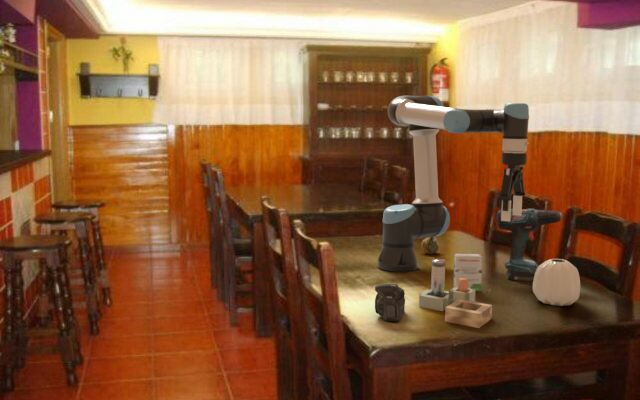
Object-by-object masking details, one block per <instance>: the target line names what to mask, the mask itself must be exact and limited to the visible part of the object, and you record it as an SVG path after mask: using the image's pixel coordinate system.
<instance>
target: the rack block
mask: <svg viewBox="0 0 640 400" xmlns="http://www.w3.org/2000/svg"><path fill="white" fill-rule="evenodd" d="M492 318H493V305H492V304H489V303H482V302H478V301H475V302H472V301H467V300H461V299H458V300H457V301H455V302H453V303H452V304H450V305H449V306H447V307H445V310H444V322H446V323H452V324H457V325H461V326H467V327H470V328H476V329H480V328H481V327H483V326H484V325H485V324H487V323H488V322H489V321H490V320H492Z"/></svg>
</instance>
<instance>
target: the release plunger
mask: <svg viewBox="0 0 640 400" xmlns="http://www.w3.org/2000/svg"><path fill="white" fill-rule="evenodd" d="M458 291H460V292H466V293H467V292H468V279H466V278H459V280H458Z"/></svg>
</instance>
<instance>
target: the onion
mask: <svg viewBox="0 0 640 400" xmlns="http://www.w3.org/2000/svg"><path fill="white" fill-rule="evenodd" d="M420 247H421V249H422V251H423V252H424V253H426V254H430V255H434V254H436V253H437V252H439V250H440V244H439V242H438V239H437V236H435V237H425V238H423V240H422V241H421V245H420Z"/></svg>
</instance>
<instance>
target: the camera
mask: <svg viewBox="0 0 640 400" xmlns="http://www.w3.org/2000/svg"><path fill="white" fill-rule="evenodd" d="M374 287H375V288H374V291H375V292H376V293H377V294H376V295H375V299H374V310H375V313H376V314H377V315H379V317H382V319H383V321H385V322H393V323H394V322H395V323H396V322H398V323H399V322H400V321H401V319H402V317H403V316H404V314H405V308H406V306H405V304H406V298H405V295H406V292H405V289H404V288H402V287H399V285H398V283H394V282H393V283H383V284H382V283H381V284H378V285H376V286H374Z"/></svg>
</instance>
